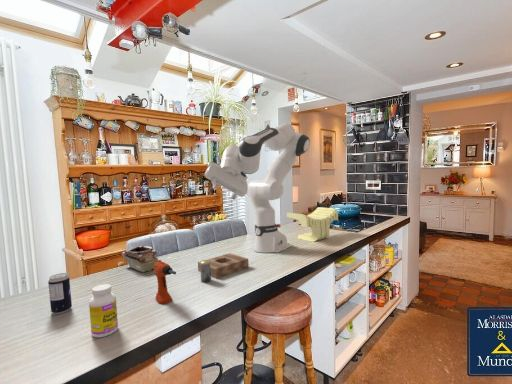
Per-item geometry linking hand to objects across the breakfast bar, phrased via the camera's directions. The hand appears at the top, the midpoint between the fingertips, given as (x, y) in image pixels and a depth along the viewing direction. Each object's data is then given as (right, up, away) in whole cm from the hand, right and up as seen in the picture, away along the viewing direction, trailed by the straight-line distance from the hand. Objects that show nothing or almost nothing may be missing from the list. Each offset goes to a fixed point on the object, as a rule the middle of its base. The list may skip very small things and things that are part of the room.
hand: (224, 193), depth 116 cm
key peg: (-7, -36, -3) cm, 36 cm away
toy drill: (-17, -37, -22) cm, 47 cm away
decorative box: (-44, -36, +17) cm, 59 cm away
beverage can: (-51, -39, -24) cm, 69 cm away
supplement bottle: (-29, -39, -38) cm, 62 cm away
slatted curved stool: (+50, -29, +61) cm, 84 cm away
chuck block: (-2, -34, +10) cm, 36 cm away
